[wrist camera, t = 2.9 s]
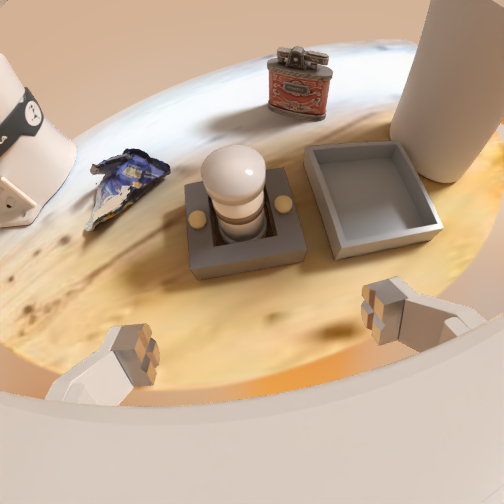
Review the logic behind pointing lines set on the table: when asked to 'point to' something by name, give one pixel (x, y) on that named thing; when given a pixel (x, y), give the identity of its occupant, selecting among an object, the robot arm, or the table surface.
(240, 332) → the table surface
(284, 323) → the table surface
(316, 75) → the lighter
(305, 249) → the block
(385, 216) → the tray
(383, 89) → the table surface
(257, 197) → the ball
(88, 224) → the snack package
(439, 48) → the cylinder vase
